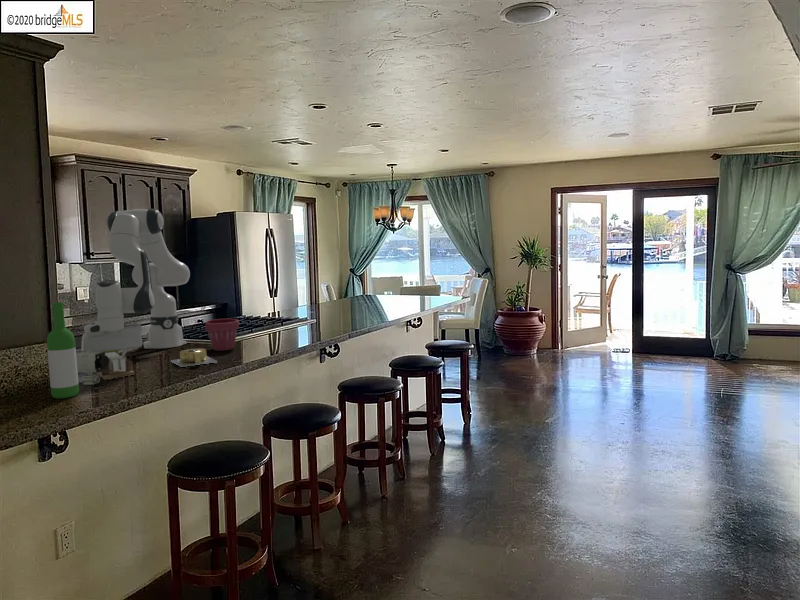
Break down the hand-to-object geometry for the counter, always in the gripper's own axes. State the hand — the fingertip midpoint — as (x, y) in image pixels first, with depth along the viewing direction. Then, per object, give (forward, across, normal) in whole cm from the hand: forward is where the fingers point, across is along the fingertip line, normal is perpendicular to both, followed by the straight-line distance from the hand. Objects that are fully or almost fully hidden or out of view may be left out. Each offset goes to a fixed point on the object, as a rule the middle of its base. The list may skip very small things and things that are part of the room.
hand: (113, 361), depth 219 cm
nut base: (+5, -29, 0) cm, 29 cm away
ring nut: (+3, -29, +2) cm, 29 cm away
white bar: (+2, 0, 0) cm, 2 cm away
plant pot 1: (+5, -4, -31) cm, 32 cm away
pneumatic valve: (+5, +10, +12) cm, 16 cm away
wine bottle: (+5, +19, +24) cm, 31 cm away
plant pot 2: (+5, -49, -22) cm, 54 cm away
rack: (+4, 0, 0) cm, 5 cm away
